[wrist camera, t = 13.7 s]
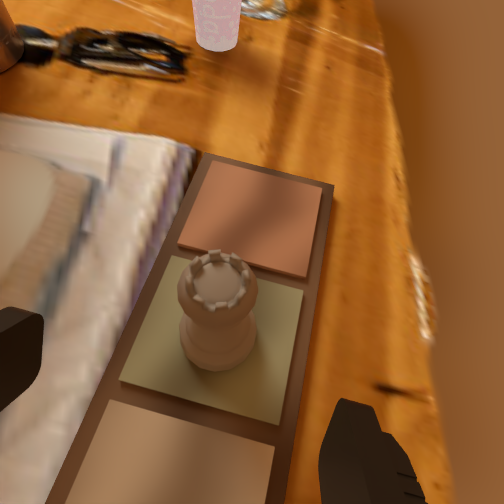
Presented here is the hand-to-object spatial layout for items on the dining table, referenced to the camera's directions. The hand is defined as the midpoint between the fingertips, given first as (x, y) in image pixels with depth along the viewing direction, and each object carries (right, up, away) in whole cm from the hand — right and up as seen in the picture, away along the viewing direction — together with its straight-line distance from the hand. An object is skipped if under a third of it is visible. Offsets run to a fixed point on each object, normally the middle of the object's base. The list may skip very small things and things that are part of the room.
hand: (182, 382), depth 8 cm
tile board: (0, -2, +12) cm, 12 cm away
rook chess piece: (0, -1, +11) cm, 11 cm away
